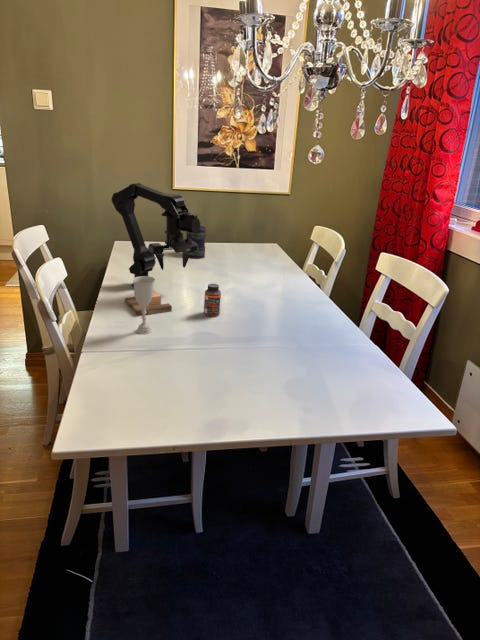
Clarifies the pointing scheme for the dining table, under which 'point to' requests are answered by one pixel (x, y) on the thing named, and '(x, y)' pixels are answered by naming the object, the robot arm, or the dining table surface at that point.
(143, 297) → the chalice
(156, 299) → the block
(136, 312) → the notched board
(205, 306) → the supplement bottle
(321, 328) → the dining table surface
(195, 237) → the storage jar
